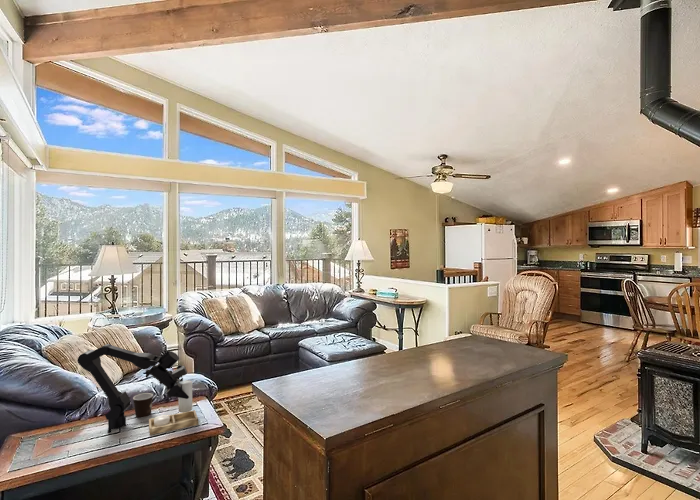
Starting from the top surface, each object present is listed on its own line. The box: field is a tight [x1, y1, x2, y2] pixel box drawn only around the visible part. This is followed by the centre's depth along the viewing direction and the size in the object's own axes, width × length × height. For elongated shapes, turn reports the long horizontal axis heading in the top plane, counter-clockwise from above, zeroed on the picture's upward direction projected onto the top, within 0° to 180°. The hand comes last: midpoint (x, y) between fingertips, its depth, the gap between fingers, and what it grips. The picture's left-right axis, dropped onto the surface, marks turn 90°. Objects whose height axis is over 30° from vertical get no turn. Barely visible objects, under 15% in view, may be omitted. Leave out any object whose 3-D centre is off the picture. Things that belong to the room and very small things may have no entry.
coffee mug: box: [132, 392, 154, 419], centre depth 191 cm, size 12×9×10 cm
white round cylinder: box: [154, 414, 170, 427], centre depth 177 cm, size 6×6×4 cm
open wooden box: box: [148, 409, 199, 436], centre depth 179 cm, size 20×11×4 cm, turn 119°
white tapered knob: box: [178, 379, 193, 413], centre depth 184 cm, size 6×6×13 cm
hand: (188, 395), depth 185 cm, fingers closed on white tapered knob, 6 cm apart
